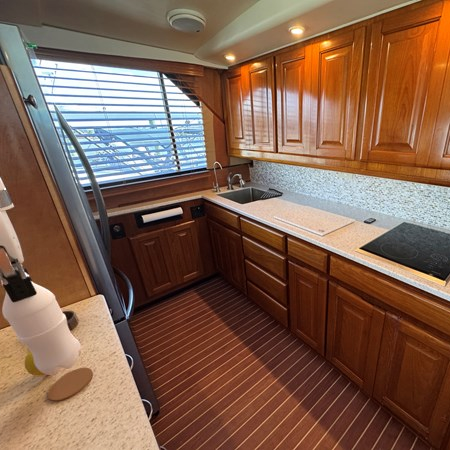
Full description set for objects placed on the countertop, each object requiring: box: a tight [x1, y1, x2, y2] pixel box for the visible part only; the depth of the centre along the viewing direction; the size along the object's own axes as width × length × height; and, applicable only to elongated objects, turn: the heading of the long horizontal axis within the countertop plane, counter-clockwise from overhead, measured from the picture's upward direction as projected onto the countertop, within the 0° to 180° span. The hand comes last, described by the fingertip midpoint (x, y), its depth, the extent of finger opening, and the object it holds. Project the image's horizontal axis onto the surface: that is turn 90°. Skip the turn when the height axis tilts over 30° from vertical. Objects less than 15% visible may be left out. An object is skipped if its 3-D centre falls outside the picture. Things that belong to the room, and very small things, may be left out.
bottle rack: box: [61, 310, 80, 332], centre depth 72 cm, size 9×9×3 cm
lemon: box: [24, 351, 45, 377], centre depth 57 cm, size 6×6×8 cm
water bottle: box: [0, 267, 82, 376], centre depth 49 cm, size 7×7×25 cm
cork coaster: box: [47, 367, 94, 403], centre depth 56 cm, size 8×8×1 cm
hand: (23, 292), depth 46 cm, fingers closed on water bottle, 4 cm apart
